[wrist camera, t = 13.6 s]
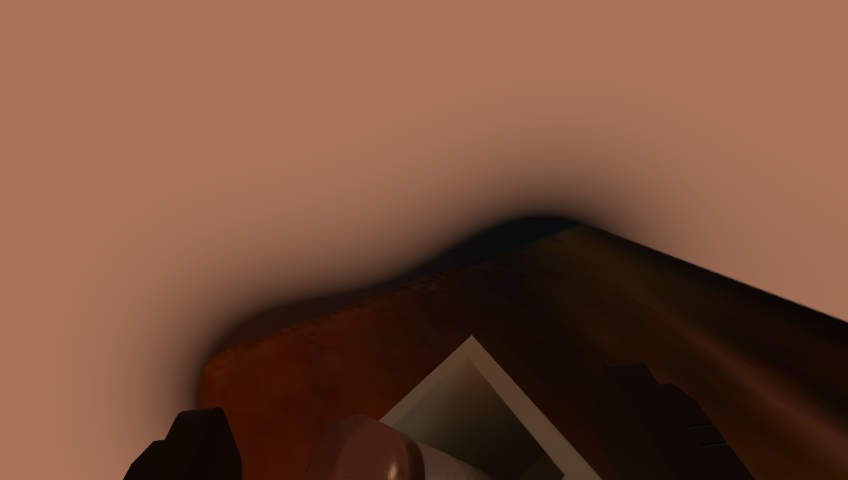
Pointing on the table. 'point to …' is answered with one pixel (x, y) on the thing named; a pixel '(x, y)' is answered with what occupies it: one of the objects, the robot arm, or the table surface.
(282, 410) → the table surface
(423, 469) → the peg
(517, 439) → the socket
